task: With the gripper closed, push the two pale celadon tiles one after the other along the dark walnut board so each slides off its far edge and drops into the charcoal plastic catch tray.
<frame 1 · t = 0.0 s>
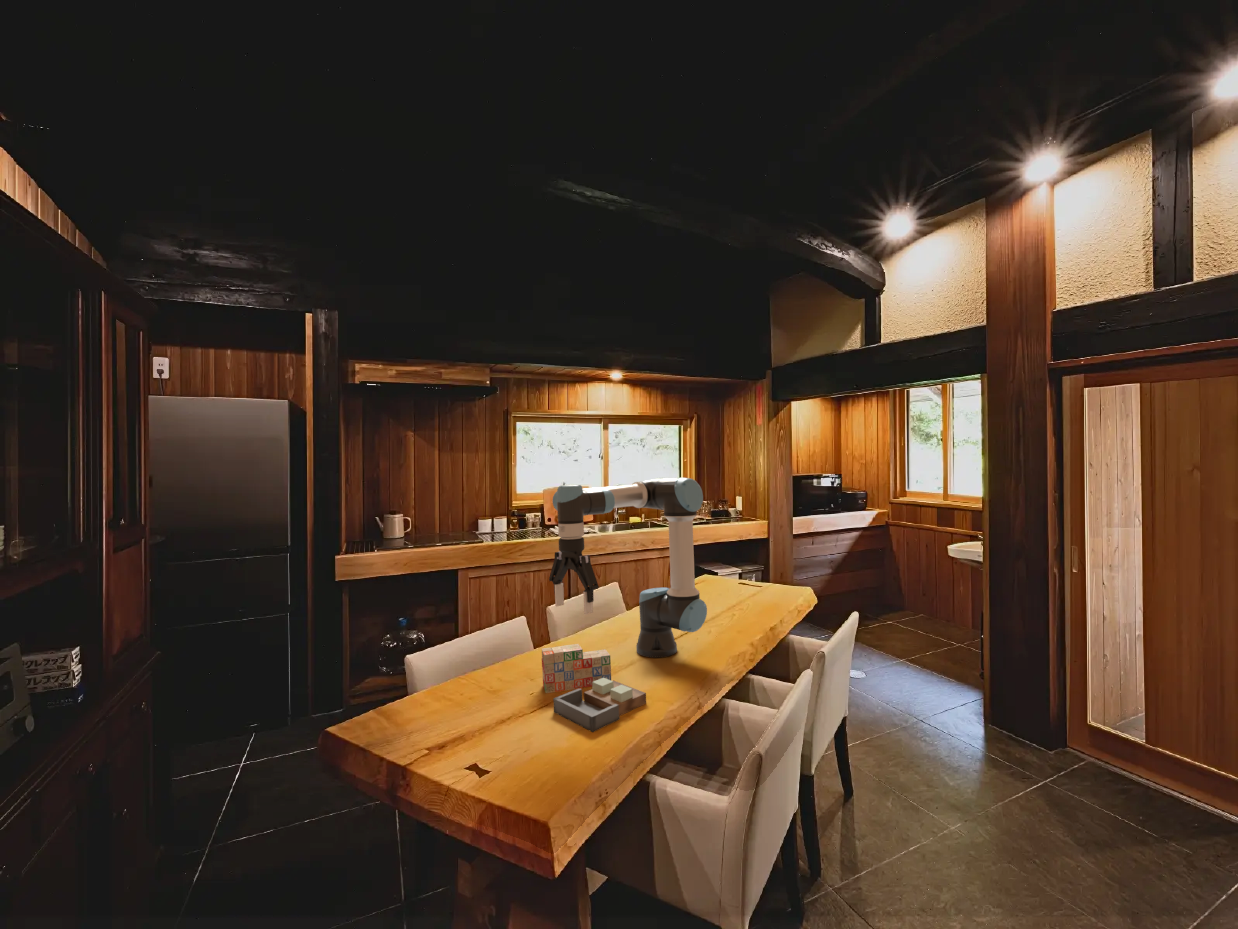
hand: (573, 609, 161), 28 cm above the table, fingers open, 13 cm apart
catch tray: (585, 716, 153), on the table
tile 2: (621, 697, 157), point 3 cm above the table, touching board
board: (615, 703, 161), on the table
stack of blocks: (577, 685, 175), on the table
tile 1: (603, 690, 163), point 3 cm above the table, touching board
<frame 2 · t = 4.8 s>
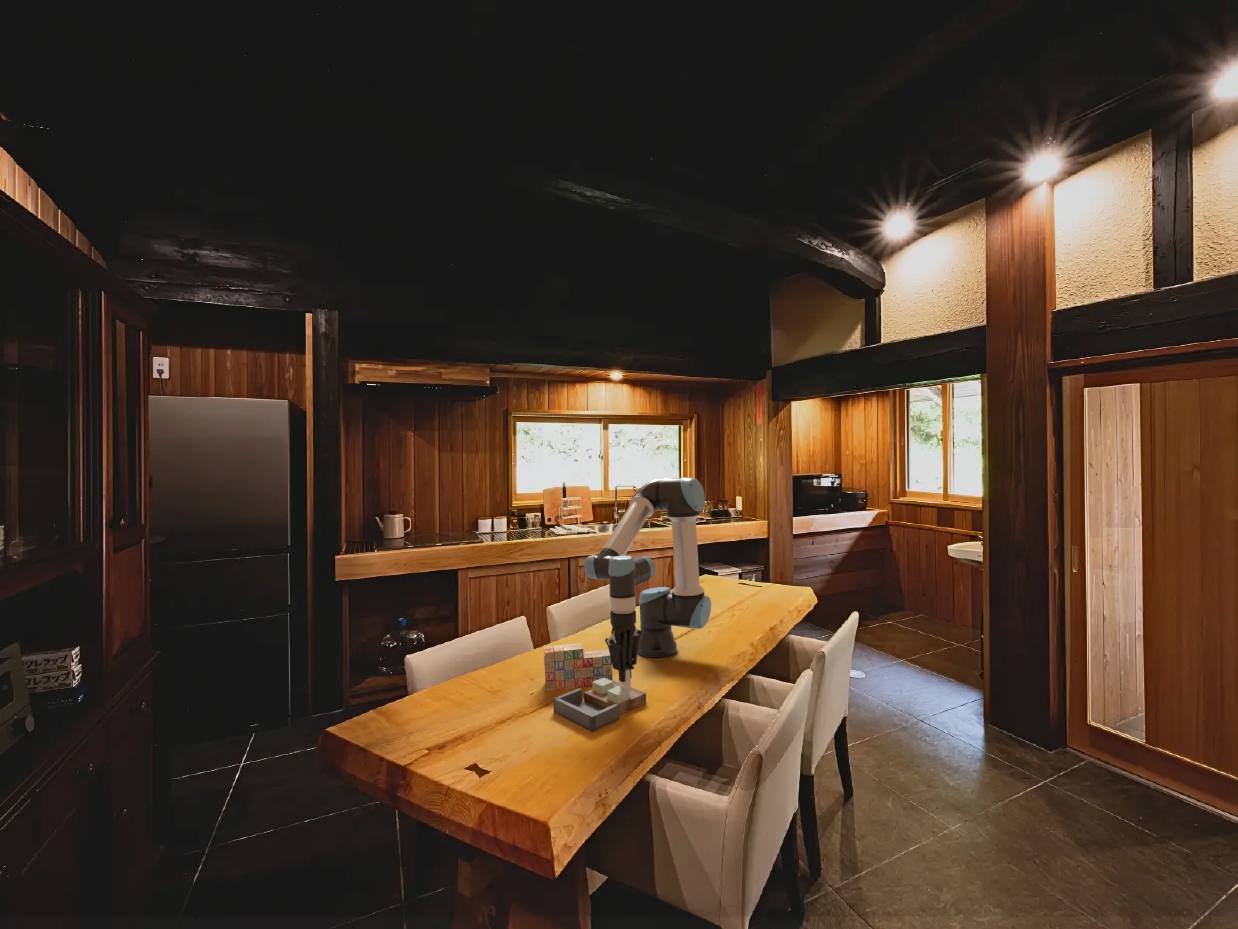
hand: (625, 691, 158), 4 cm above the table, fingers closed
tile 2: (618, 699, 156), point 3 cm above the table, touching board
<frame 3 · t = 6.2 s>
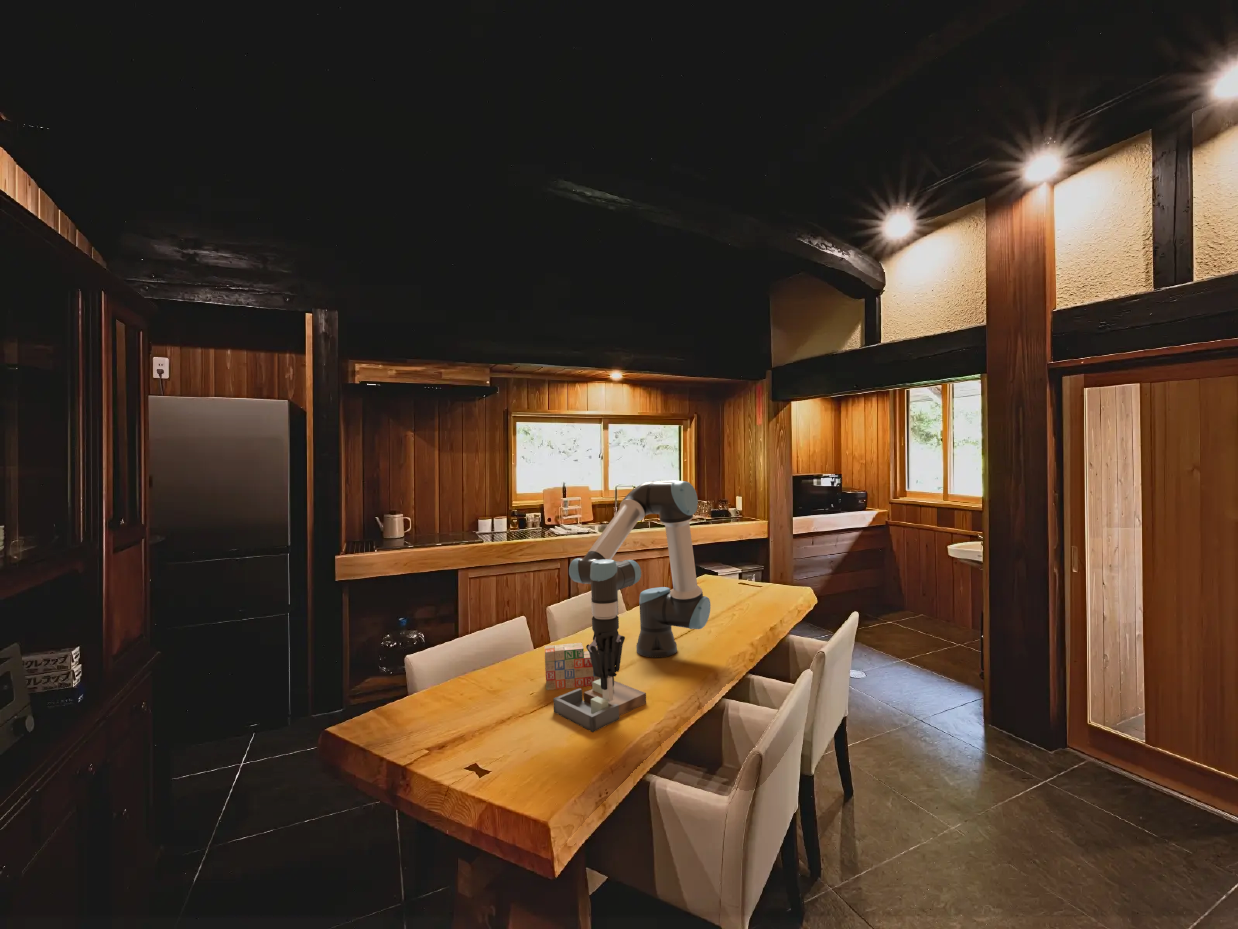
hand: (607, 699, 153), 4 cm above the table, fingers closed
tile 2: (602, 706, 152), point 3 cm above the table, tilted 90°, touching catch tray
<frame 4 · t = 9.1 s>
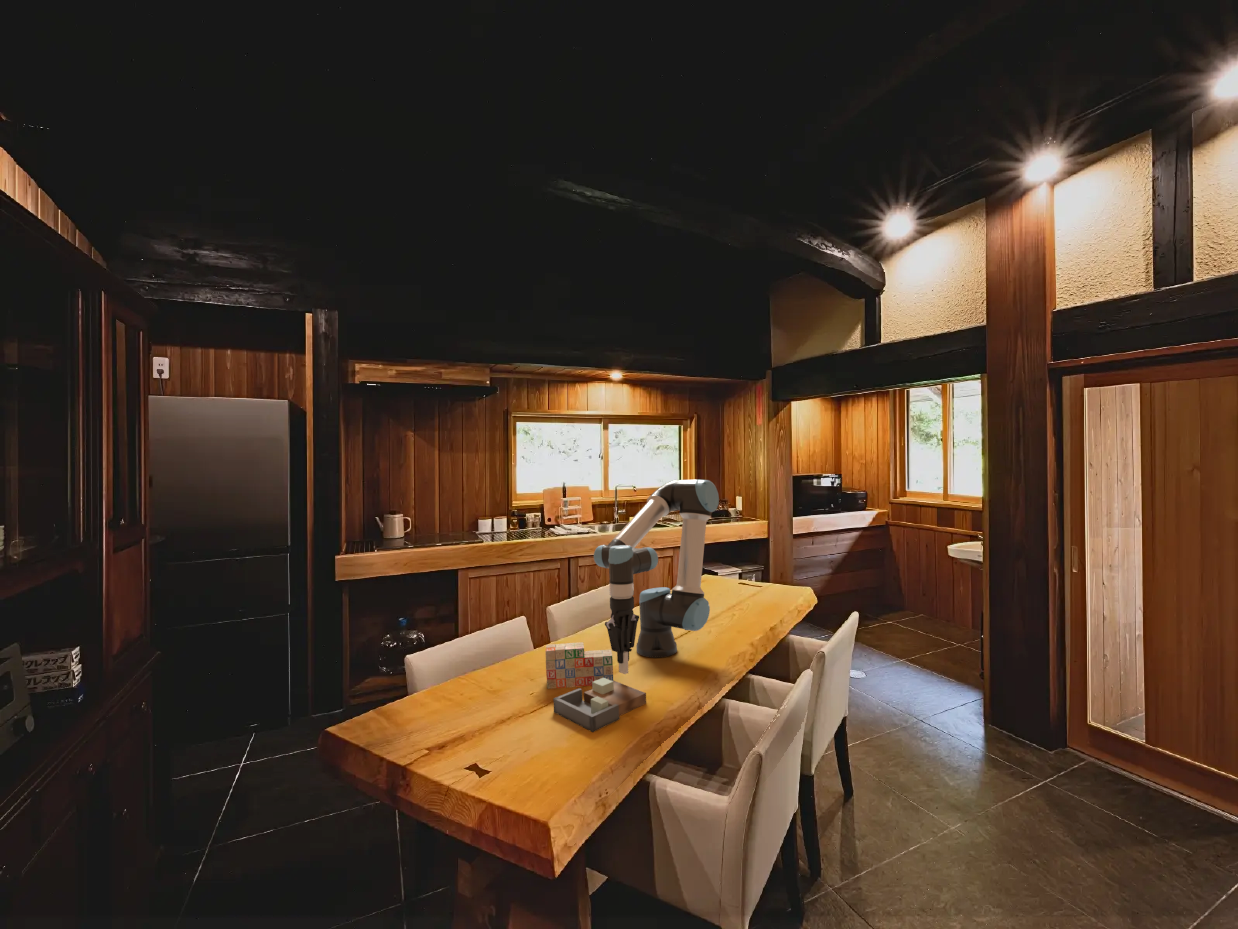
hand: (623, 672, 169), 6 cm above the table, fingers closed
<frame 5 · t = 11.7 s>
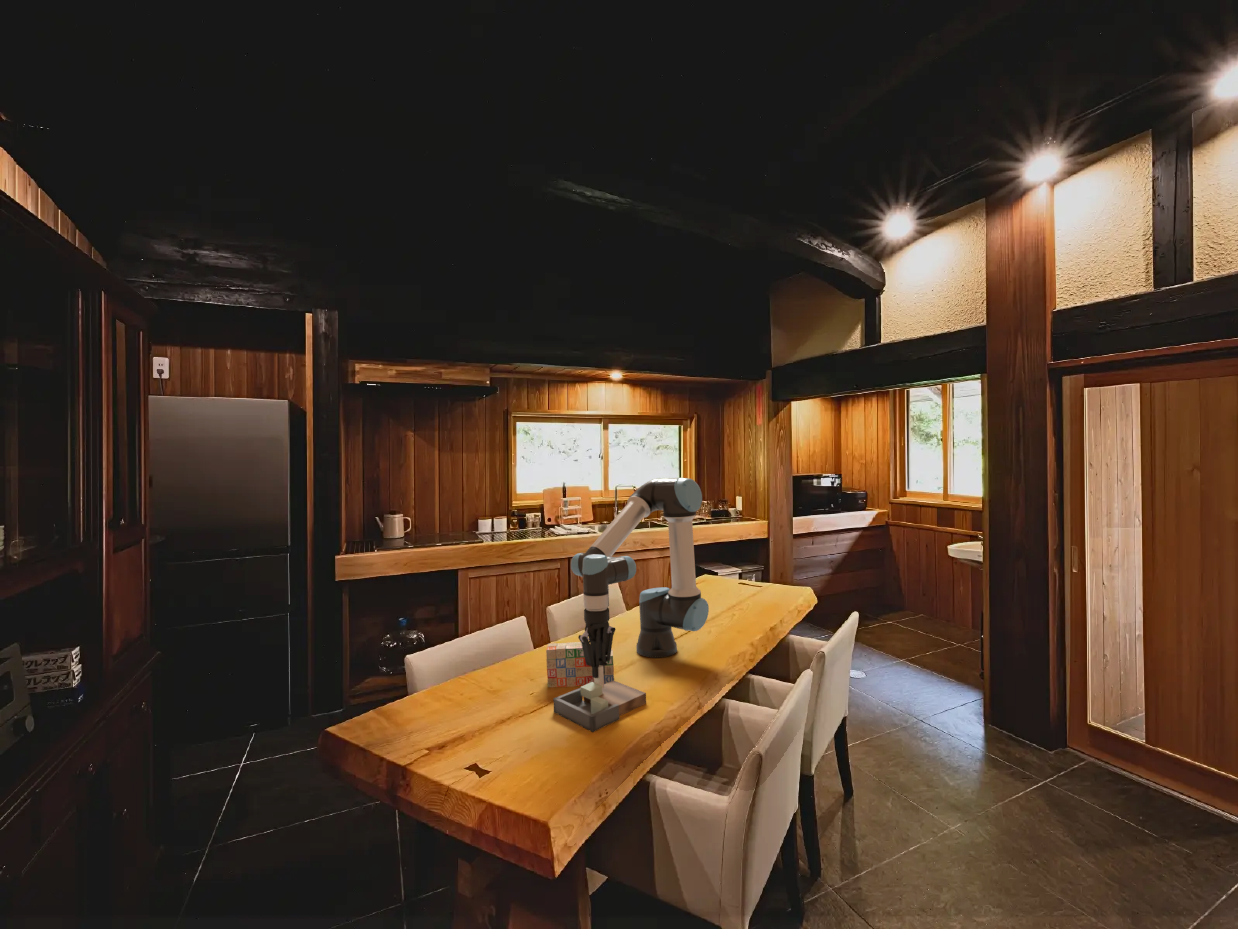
hand: (599, 687, 162), 4 cm above the table, fingers closed
tile 1: (591, 694, 160), point 3 cm above the table, touching board
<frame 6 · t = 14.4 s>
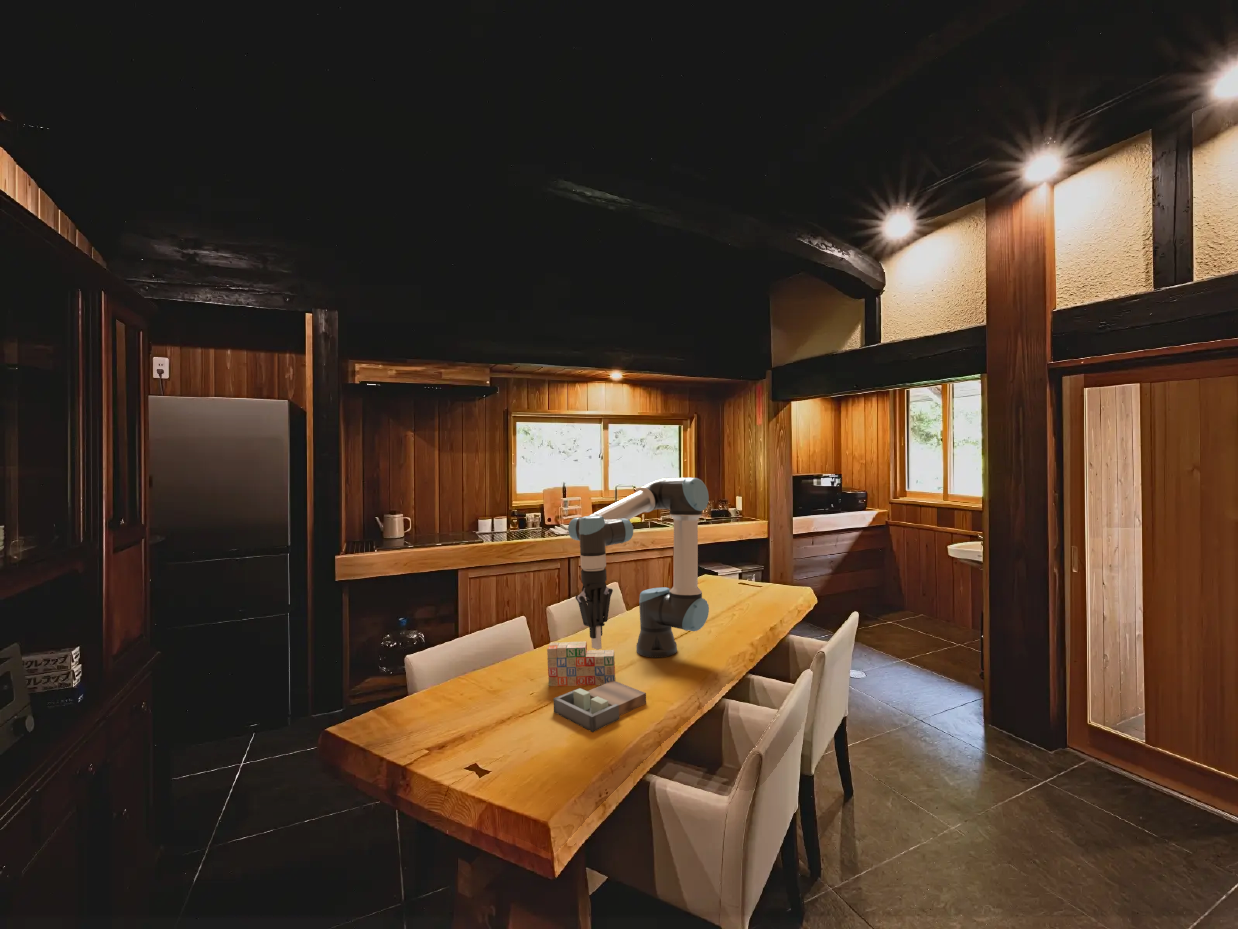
hand: (596, 648, 162), 16 cm above the table, fingers closed
tile 1: (585, 698, 158), point 3 cm above the table, tilted 90°, touching catch tray
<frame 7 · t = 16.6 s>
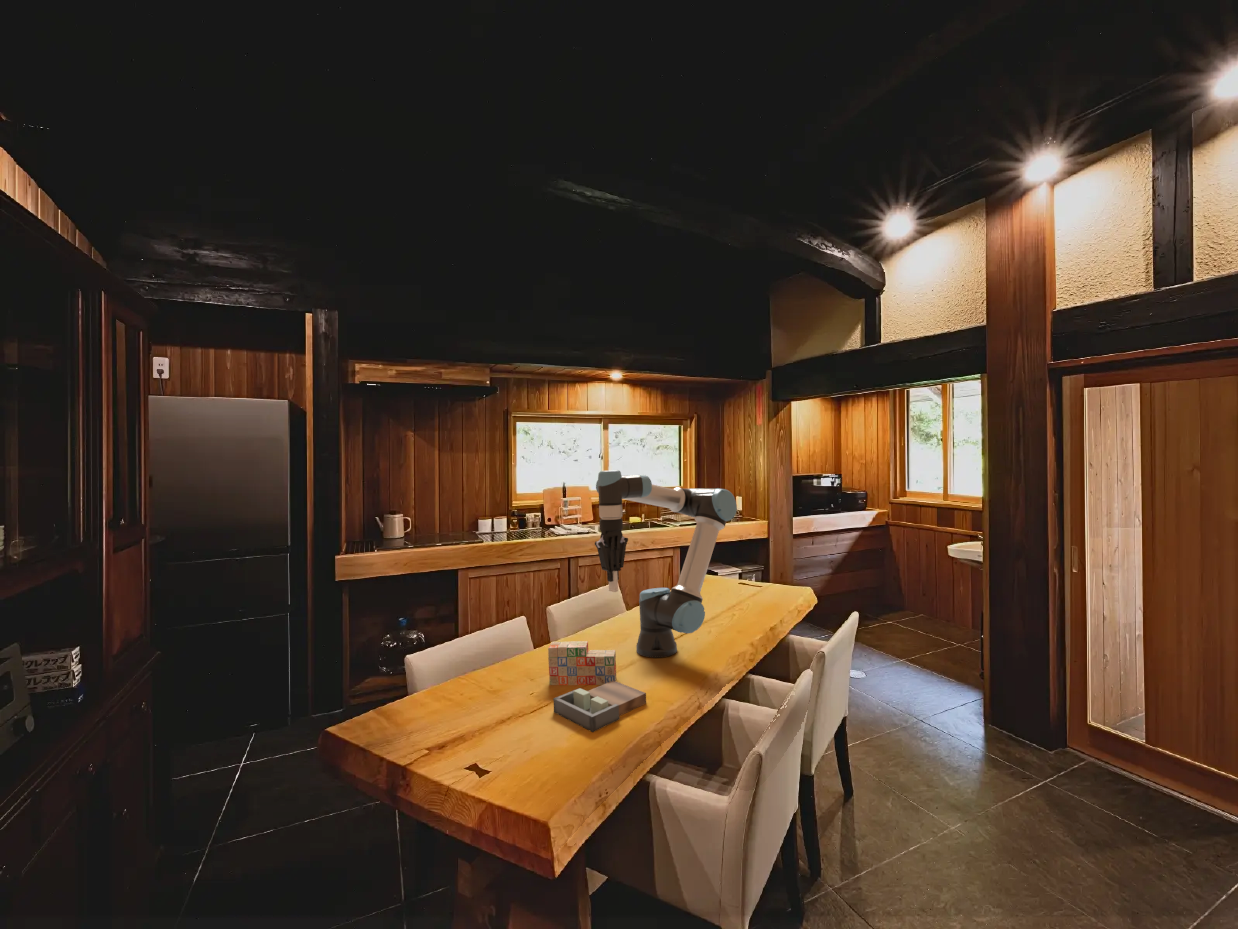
hand: (613, 591, 176), 29 cm above the table, fingers closed
at the end: tile 2 inside the target area (5.1 cm from its centre), point 2.8 cm above the table; tile 1 inside the target area (5.2 cm from its centre), point 2.8 cm above the table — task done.
